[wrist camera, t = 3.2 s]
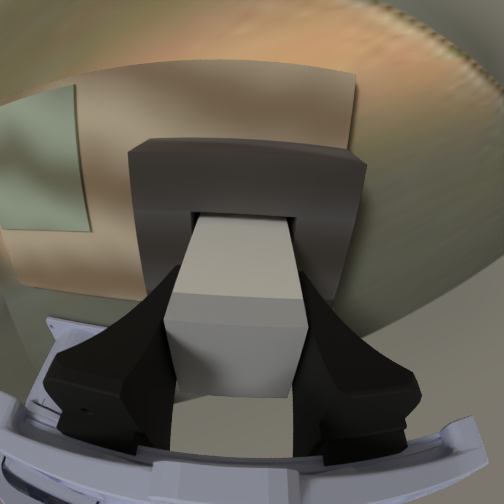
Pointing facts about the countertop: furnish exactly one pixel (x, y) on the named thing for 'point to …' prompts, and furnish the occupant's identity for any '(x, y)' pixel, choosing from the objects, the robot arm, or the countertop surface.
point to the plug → (237, 308)
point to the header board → (163, 114)
